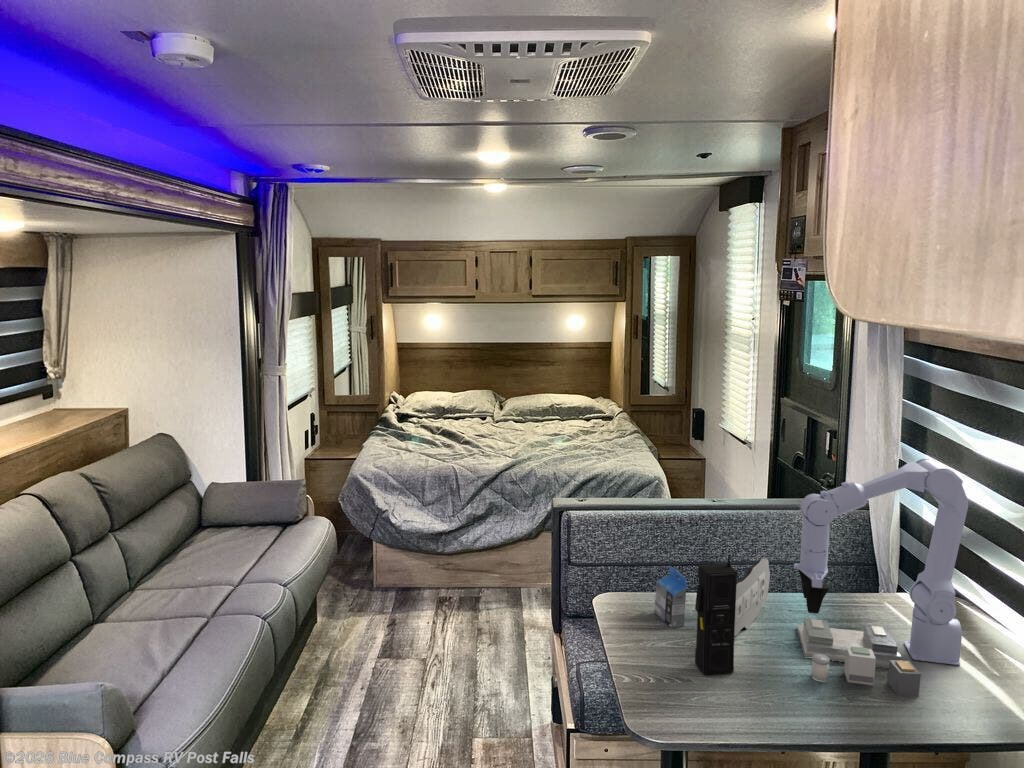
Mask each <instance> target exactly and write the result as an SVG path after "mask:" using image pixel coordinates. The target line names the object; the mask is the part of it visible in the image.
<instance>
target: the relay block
mask: <svg viewBox="0 0 1024 768" xmlns="http://www.w3.org/2000/svg"><path fill="white" fill-rule="evenodd" d="M887 675H888V676H887V684H888V685H889V686H890V687H891V688H892V690H893V691H894V693H895V694H896V695H897V696H899V697H915V698H916V697H919V696H920V686H921V685H920V684H921V673H920V671H919V670H918V669H917V667H915V665H914V664H913V663H912V662H911V661H910V660H902V661H898V660H889V668H888V674H887Z"/></svg>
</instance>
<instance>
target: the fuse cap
mask: <svg viewBox="0 0 1024 768" xmlns="http://www.w3.org/2000/svg"><path fill="white" fill-rule="evenodd" d="M811 660H812V663H811V675H812V677H814V678H815V679H817V680H821V681H826V680H829V667H830V663H831V661H830V659H829V657H827V656H825V655H823V654H814V655H812V659H811ZM812 677H811V678H812Z"/></svg>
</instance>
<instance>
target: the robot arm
mask: <svg viewBox="0 0 1024 768" xmlns="http://www.w3.org/2000/svg"><path fill="white" fill-rule="evenodd" d="M963 483H964V481H963V480H962V478H961V477H960V476H958V474H957V473H956V472H955V471H953V470H952V469H949V468H947V467H946V466H943V465H941V463H939V462H937V461H936V460H934V459H931V458H927V457H924V458H920V459H918V460H916V461H911V462H907V463H905V464H904V465H902V466H901V467H900V468H897V469H895V470H892V471H889V472H888V473H886V474H883V475H880V476H878V477H875V478H873V479H870V480H868V481H867V482H864V483H862V484H859V483H857V482H853V481H851V482H848V481H844V482H841V484H840V486H837V487H835V488H832V489H829V490H827V491H826V490H821V491H820V492H819V493H820V494H819V493H809V494H807V495H806V496H804V498H803V499H802V500H801V503H800V504H799V510H800V511H801V513H802V514H803V515H802V526H801V536H800V537H801V539H800V554H799V555H800V557H799V563H794V564H793V567H794V570H797V571H798V574H799V575H800V576H799V577H800V580H801V585H802V587H801V589H802V595H803V598H804V599H806V601H805V602H806V608H807V612H808V613H809V614H819V613H820V610H821V606H822V604H823V601H824V598H825V596H826V595H827V593H828V592H829V591H830V585H829V584H823V581H824V579H825V577H826V576H827V574H828V572H829V568H828V559H829V543H830V524H831V523H832V522H833V521H834V520H835V518H836V517H838V516H841V515H844V514H847V513H850V512H852V511H855V510H858V509H860V508H863V507H865V506H866V504H867V502H868V500H869V499H872V498H877V497H880V496H883V495H886V494H889V493H892V492H896V491H899V490H902V489H908V490H913V491H917V492H921V493H924V492H925V490H926V491H927V492H928V493H929V494H930V496H931V497H932V498H933V499H934V500H935V501H936V503H937V504H938V507H937V512H936V518H935V521H934V526H933V530H932V535H931V539H930V542H929V543H930V544H929V549H928V552H927V556H926V562H925V565H924V570H923V571H921V572H919V573H918V574H917V577H916V581H915V582H914V583H913V585H912V586H911V587H910V589H909V598H910V599H911V601H912V603H914V605H913V609H912V616H911V618H912V619H911V626H910V627H911V629H910V639H909V640H905V641H903V644H904V646H905V648H906V649H907V651H908V654H909V655H910V657H911V659H912V660H915V661H921V662H930V663H937V664H945V665H952V666H960V665H961V662H960V660H961V659H960V657H961V648H962V640H963V635H962V634H963V631H962V626H961V623H960V620H958V619H957V618H955V617H956V615H957V605H956V602H955V599H956V591H955V588H954V585H953V580H952V579H953V574H954V569H955V565H956V561H957V557H958V553H959V549H960V543H961V540H962V535H963V531H964V526H965V522H966V517H967V513H968V510H969V500H968V497H967V494H966V492H965V489H964V487H963Z"/></svg>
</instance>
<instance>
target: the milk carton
mask: <svg viewBox="0 0 1024 768" xmlns="http://www.w3.org/2000/svg"><path fill="white" fill-rule="evenodd" d="M668 572H669V573H668V574H667V575H665V576H664V577H662V578H660V579H659V580H658V579H657V580H656V582H655V597H654V608H653V609H654V610H653V613H654V614H655V615H656V616H658V618H660V619H661V620H662V621H663V622H664V623H665V624H666V625H668V626H669V627H670V628H681V627H685V614H686V612H685V611H686V597H687V580H686V577H685V576H684V575H682V574H681V573H680V572H679V571H678V570H677V569H675V568H674V567H673V566H671V565H668ZM677 576H678V577H677Z"/></svg>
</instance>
